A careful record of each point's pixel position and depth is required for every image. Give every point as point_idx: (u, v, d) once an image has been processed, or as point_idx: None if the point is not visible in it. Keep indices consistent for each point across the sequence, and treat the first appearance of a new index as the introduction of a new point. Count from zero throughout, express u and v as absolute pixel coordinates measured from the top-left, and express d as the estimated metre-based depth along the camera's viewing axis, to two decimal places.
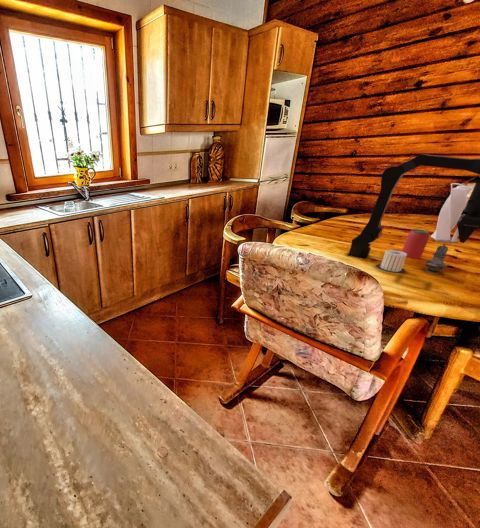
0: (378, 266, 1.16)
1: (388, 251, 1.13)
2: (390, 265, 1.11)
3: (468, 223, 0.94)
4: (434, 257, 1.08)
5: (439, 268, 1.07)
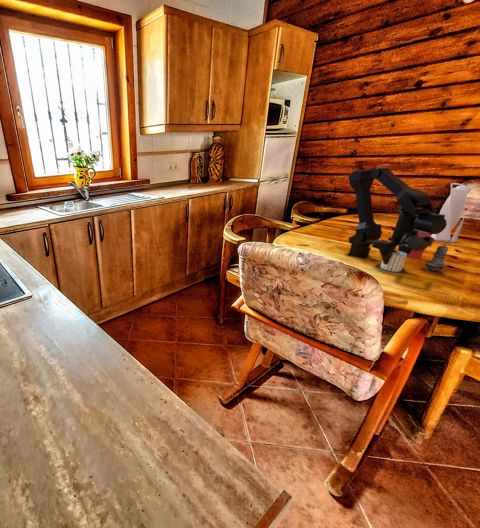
0: (378, 266, 1.16)
1: None
2: (390, 265, 1.11)
3: (377, 247, 1.09)
4: (434, 257, 1.08)
5: (439, 268, 1.07)
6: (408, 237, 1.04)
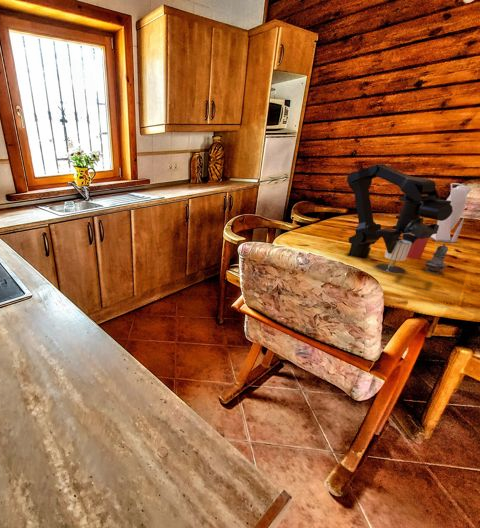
0: (378, 266, 1.16)
1: None
2: (394, 254, 1.09)
3: (381, 235, 1.07)
4: (434, 257, 1.08)
5: (439, 268, 1.07)
6: (413, 225, 1.02)
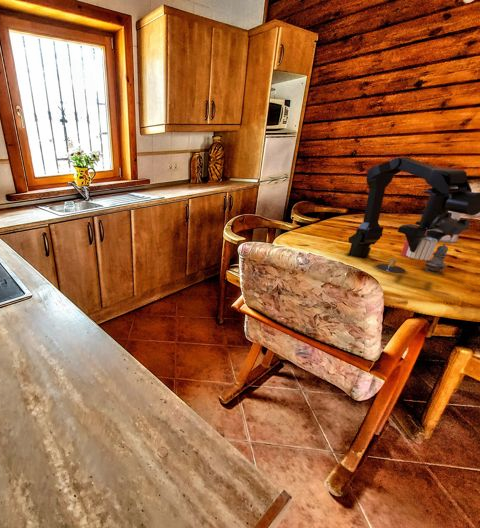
0: (378, 266, 1.16)
1: None
2: (418, 253, 0.99)
3: (404, 232, 0.97)
4: (434, 257, 1.08)
5: (439, 268, 1.07)
6: (440, 220, 0.92)
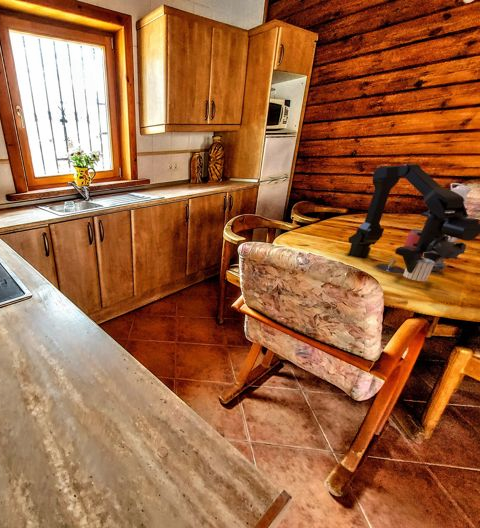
0: (378, 266, 1.16)
1: None
2: (415, 274, 1.00)
3: (401, 254, 0.98)
4: None
5: (439, 268, 1.07)
6: (437, 243, 0.94)
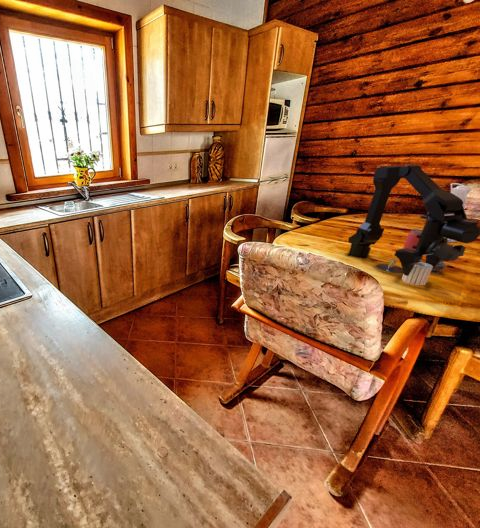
0: (378, 266, 1.16)
1: None
2: (414, 278, 1.01)
3: (400, 256, 0.99)
4: None
5: (439, 268, 1.07)
6: (436, 246, 0.94)
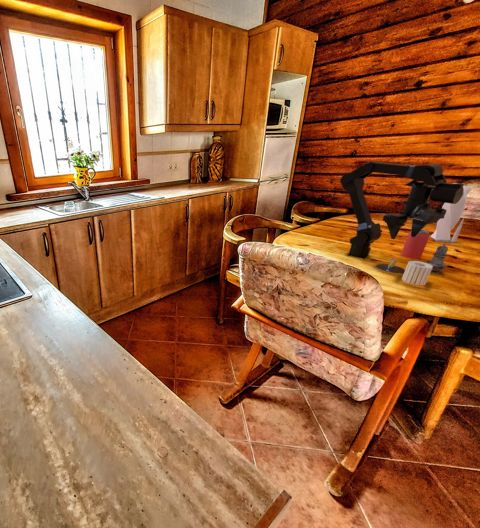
0: (378, 266, 1.16)
1: (411, 262, 1.03)
2: (414, 278, 1.01)
3: (387, 220, 1.08)
4: (434, 257, 1.08)
5: (439, 268, 1.07)
6: (420, 209, 1.03)
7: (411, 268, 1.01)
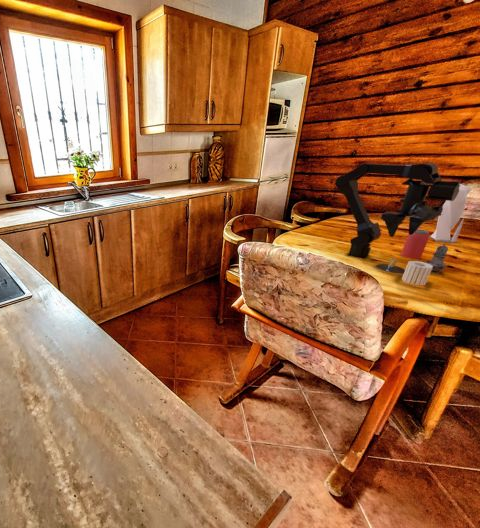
0: (378, 266, 1.16)
1: (411, 262, 1.03)
2: (414, 278, 1.01)
3: (386, 218, 1.09)
4: (434, 257, 1.08)
5: (439, 268, 1.07)
6: (417, 207, 1.04)
7: (411, 268, 1.01)
